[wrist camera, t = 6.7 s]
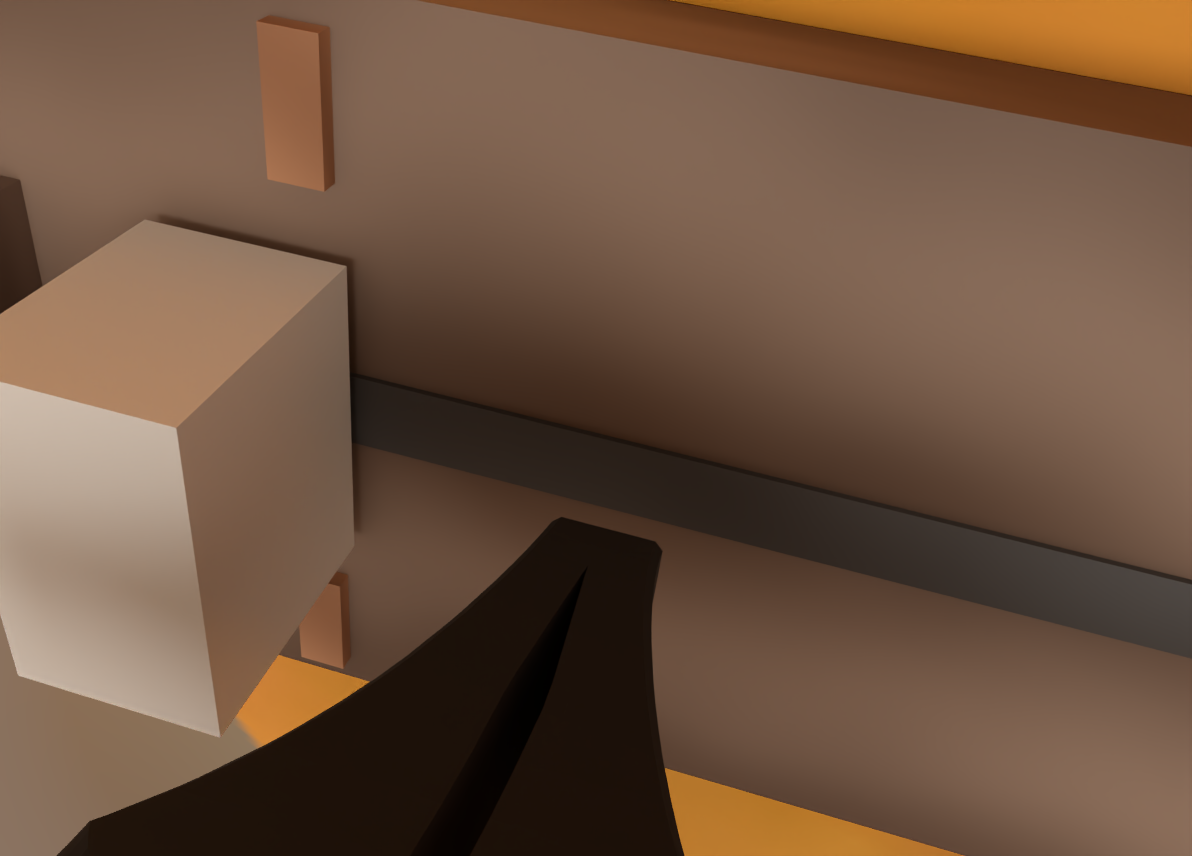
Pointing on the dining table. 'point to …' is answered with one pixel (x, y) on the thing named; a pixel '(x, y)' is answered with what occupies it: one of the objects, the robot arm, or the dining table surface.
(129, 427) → the fader tab
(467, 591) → the slotted base plate
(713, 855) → the dining table surface
